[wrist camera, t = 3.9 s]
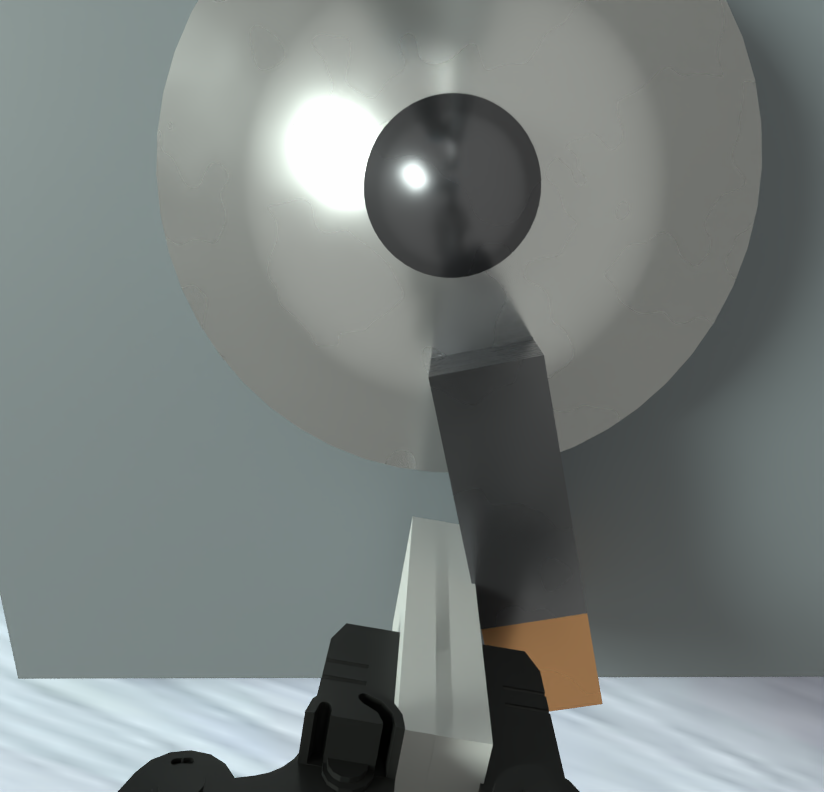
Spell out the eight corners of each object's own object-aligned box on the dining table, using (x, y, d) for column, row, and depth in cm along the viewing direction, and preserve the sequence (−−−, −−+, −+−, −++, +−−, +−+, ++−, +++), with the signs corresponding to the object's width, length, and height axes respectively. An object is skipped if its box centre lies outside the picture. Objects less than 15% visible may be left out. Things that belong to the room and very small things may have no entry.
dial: (128, -27, 14) (21, -108, 10) (688, -177, 13) (776, -322, 9) (314, 643, 18) (280, 748, 14) (761, 574, 16) (845, 669, 13)
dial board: (-156, -390, 14) (-242, -474, 12) (1094, -524, 13) (1197, -642, 11) (49, 648, 20) (12, 689, 18) (913, 643, 19) (960, 687, 17)
